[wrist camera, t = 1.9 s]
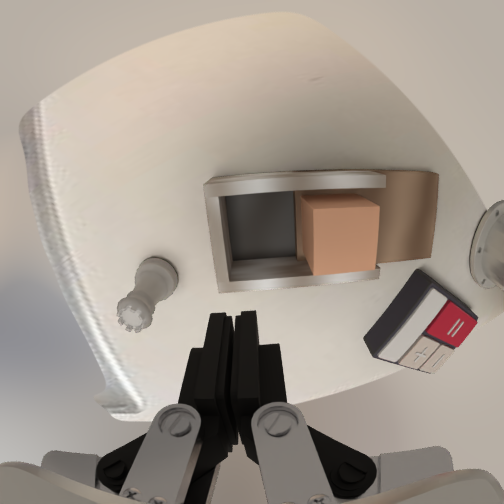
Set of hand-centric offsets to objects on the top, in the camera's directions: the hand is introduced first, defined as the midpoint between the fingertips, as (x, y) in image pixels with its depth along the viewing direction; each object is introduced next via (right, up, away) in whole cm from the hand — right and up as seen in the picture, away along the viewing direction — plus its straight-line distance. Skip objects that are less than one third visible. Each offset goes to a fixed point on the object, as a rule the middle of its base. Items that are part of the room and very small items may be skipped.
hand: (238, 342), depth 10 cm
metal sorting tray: (+8, +7, +15) cm, 18 cm away
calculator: (+23, -6, +21) cm, 32 cm away
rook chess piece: (-9, +1, +17) cm, 20 cm away
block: (+7, +6, +13) cm, 16 cm away
